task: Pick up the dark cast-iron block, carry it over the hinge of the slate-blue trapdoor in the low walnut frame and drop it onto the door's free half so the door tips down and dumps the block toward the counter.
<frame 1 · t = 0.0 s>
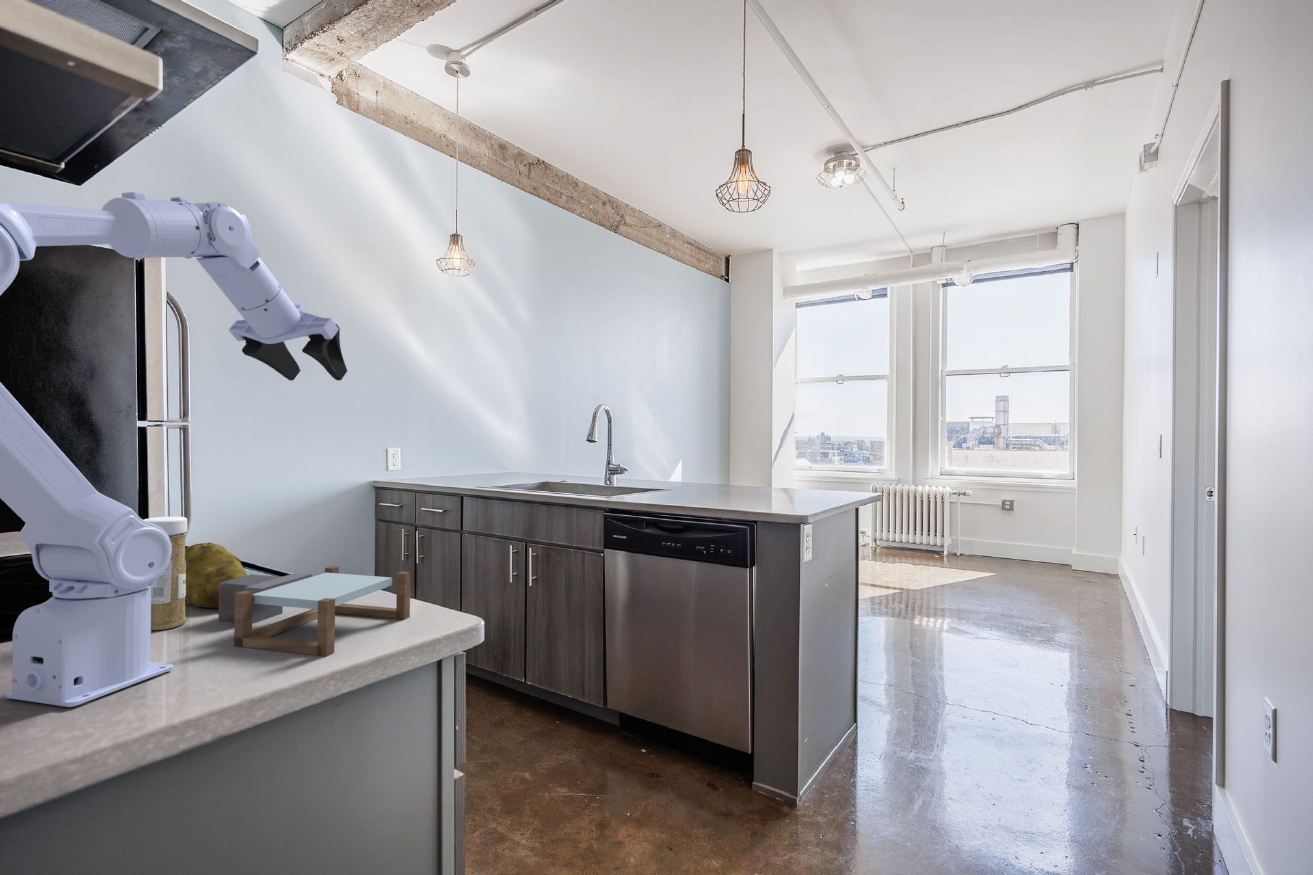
hand: (318, 375, 88), 32 cm above the counter, tool tilted 50°, fingers open, 7 cm apart
iron block: (251, 617, 83), on the counter
potato: (210, 604, 89), on the counter
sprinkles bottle: (163, 627, 78), on the counter
frame: (291, 626, 79), on the counter
trapdoor: (315, 588, 78), point 5 cm above the counter, hinge at 0.0°
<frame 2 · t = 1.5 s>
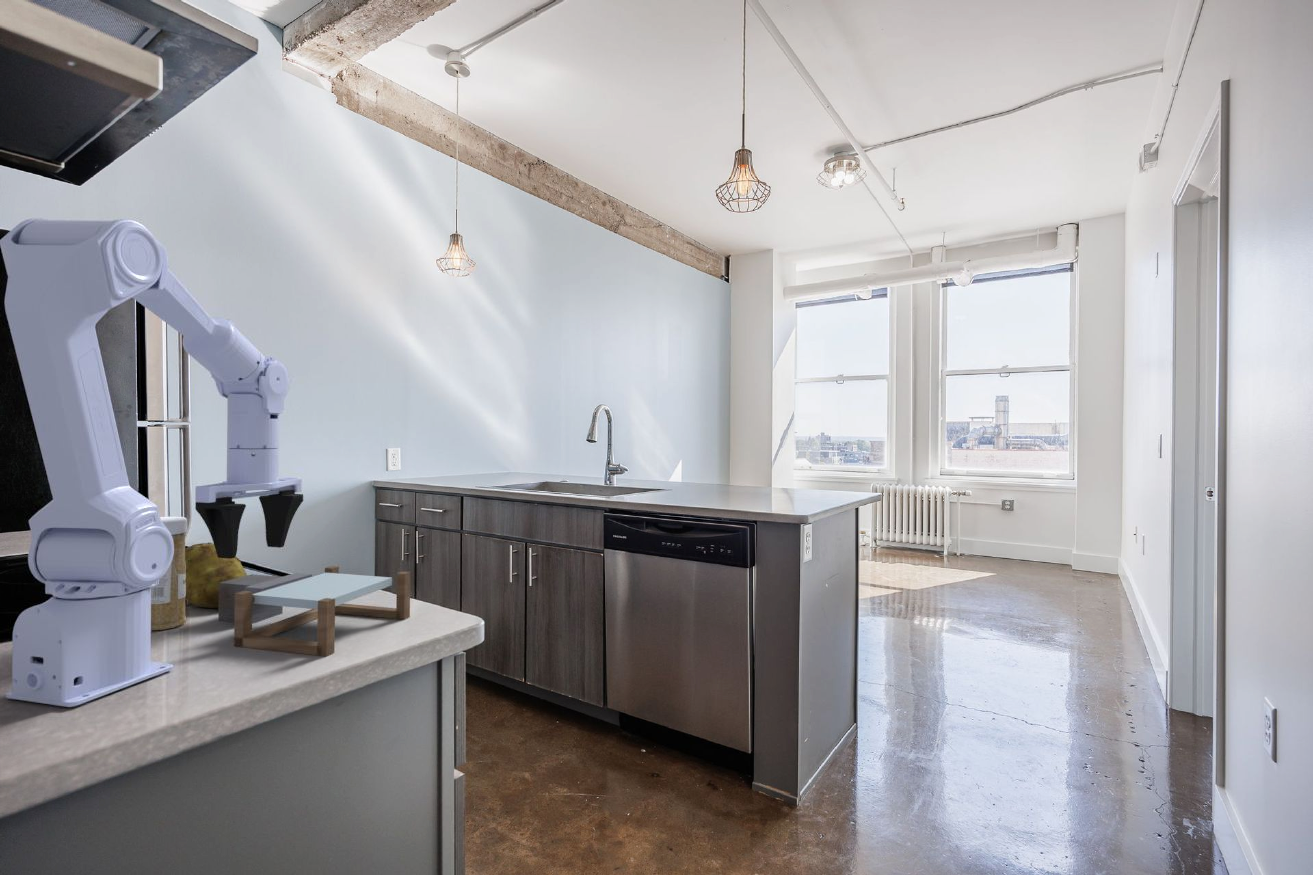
hand: (252, 552, 83), 9 cm above the counter, tool pointing down, fingers open, 7 cm apart
nothing on the counter moved.
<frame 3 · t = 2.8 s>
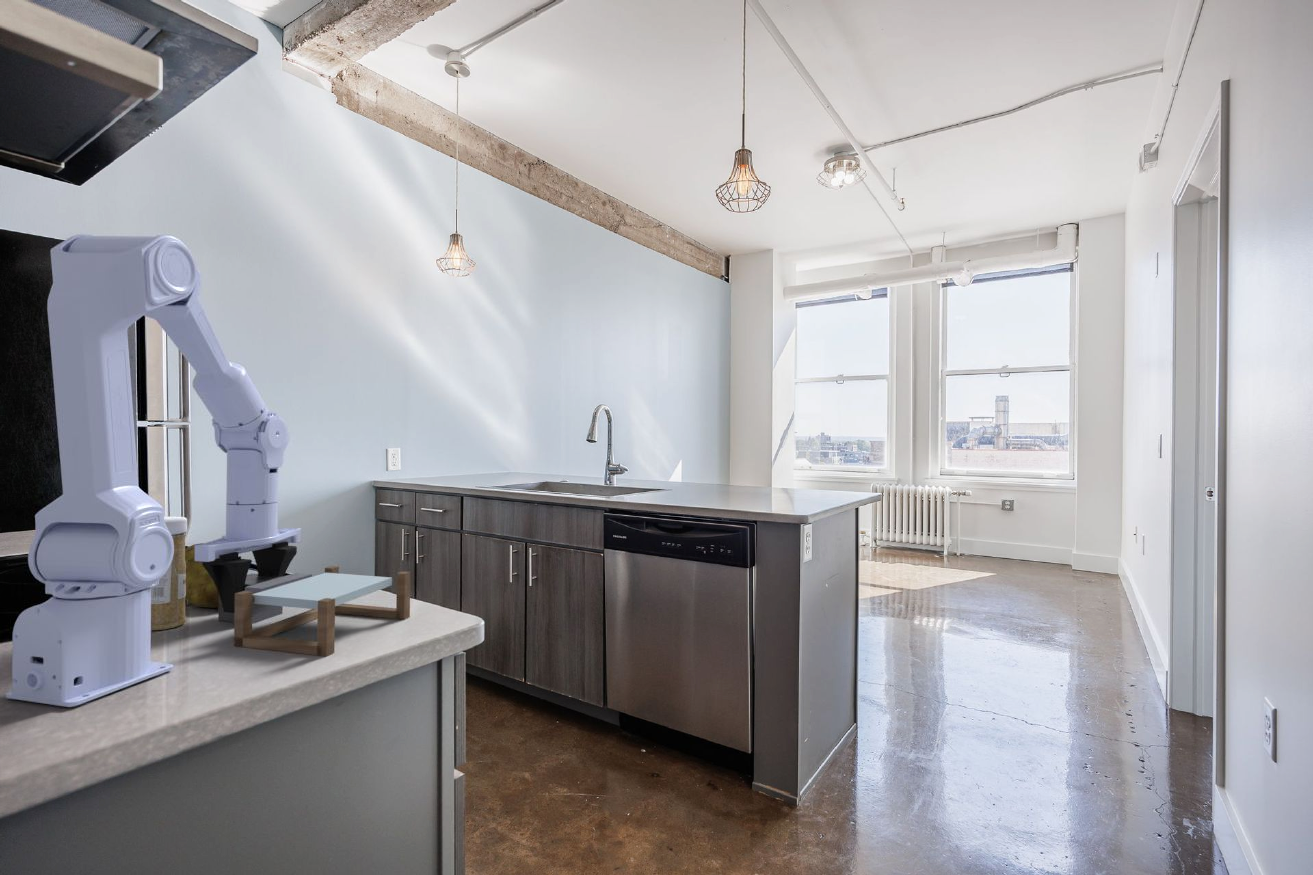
hand: (251, 606, 83), 1 cm above the counter, tool pointing down, fingers closed on iron block, 5 cm apart
iron block: (251, 616, 83), on the counter, touching gripper
everything else where it was.
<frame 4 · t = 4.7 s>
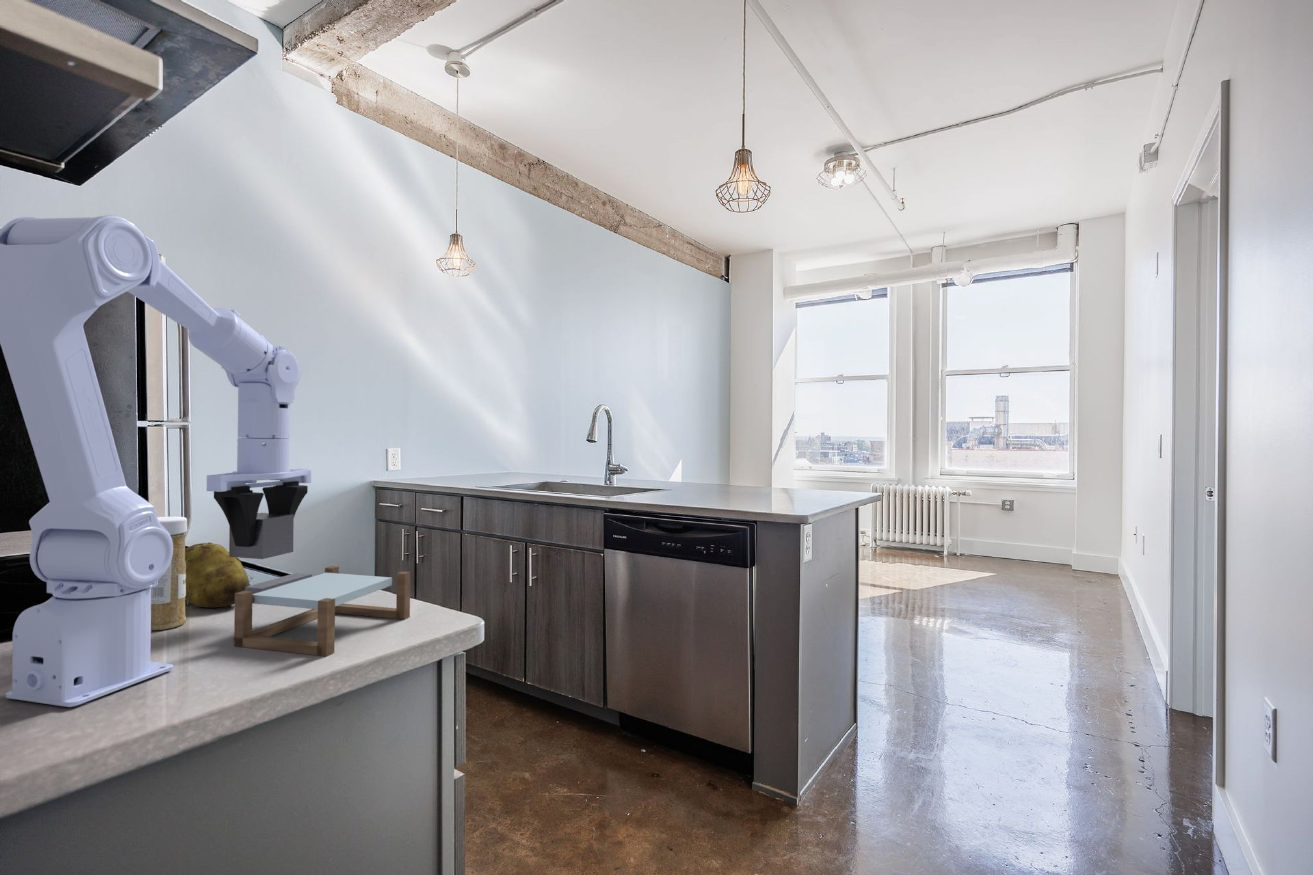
hand: (262, 542, 82), 10 cm above the counter, tool pointing down, fingers closed on iron block, 5 cm apart
iron block: (262, 554, 82), point 8 cm above the counter, touching gripper
everything else where it was.
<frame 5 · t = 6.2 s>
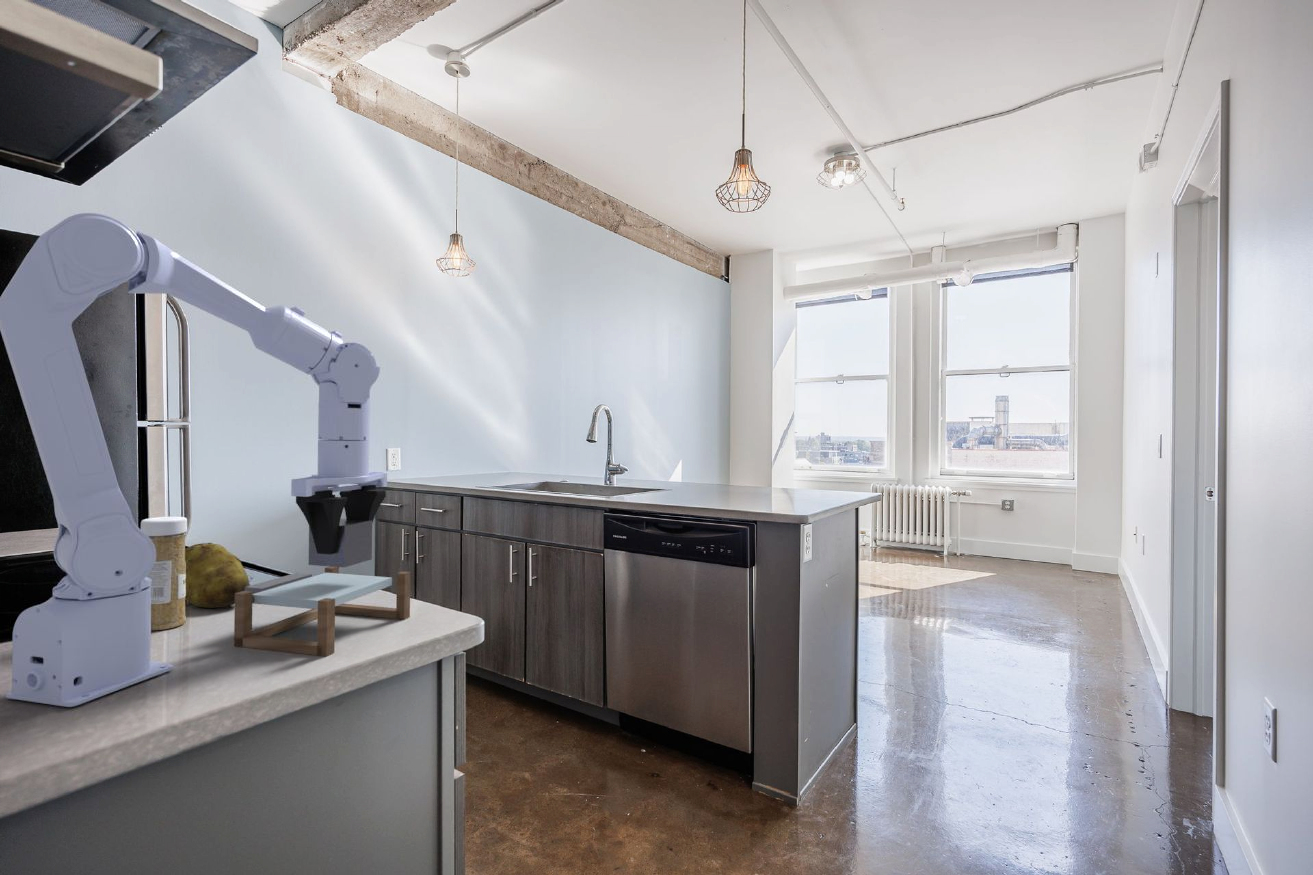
hand: (342, 549, 78), 10 cm above the counter, tool pointing down, fingers closed on iron block, 5 cm apart
iron block: (340, 562, 78), point 8 cm above the counter, touching gripper
everything else where it was.
when the fingers open (10 cm above the counter, at t = 6.6 s): iron block drops 5 cm, resting on trapdoor.
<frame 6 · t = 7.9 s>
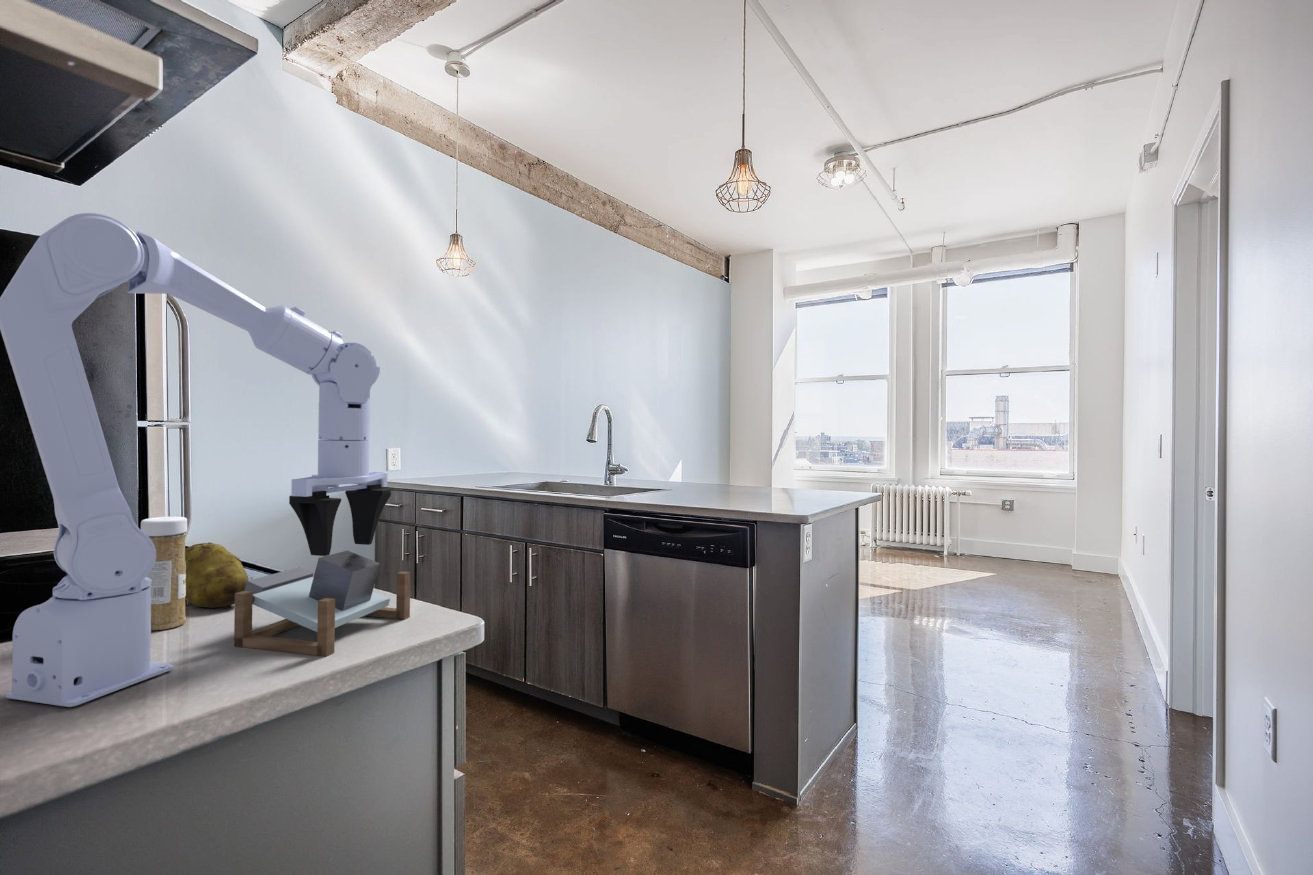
hand: (342, 549, 78), 10 cm above the counter, tool pointing down, fingers open, 7 cm apart
iron block: (340, 598, 79), point 4 cm above the counter, tilted 16°, touching trapdoor
trapdoor: (314, 596, 78), point 4 cm above the counter, hinge at -15.9°, touching iron block
everything else where it was.
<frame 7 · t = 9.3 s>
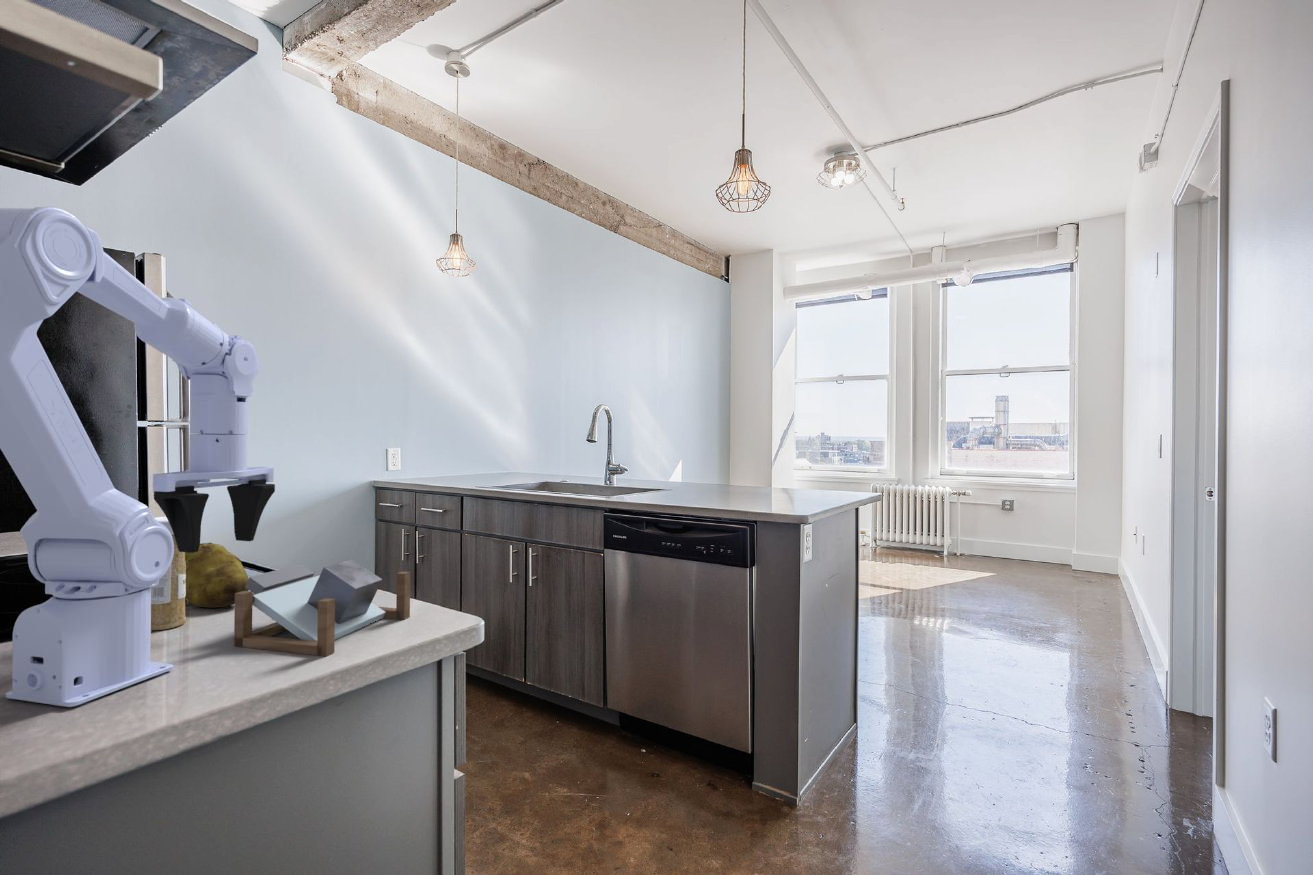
hand: (218, 545, 77), 10 cm above the counter, tool pointing down, fingers open, 7 cm apart
iron block: (337, 607, 79), point 3 cm above the counter, tilted 27°, touching trapdoor
trapdoor: (312, 601, 78), point 3 cm above the counter, hinge at -27.1°, touching iron block
everything else where it was.
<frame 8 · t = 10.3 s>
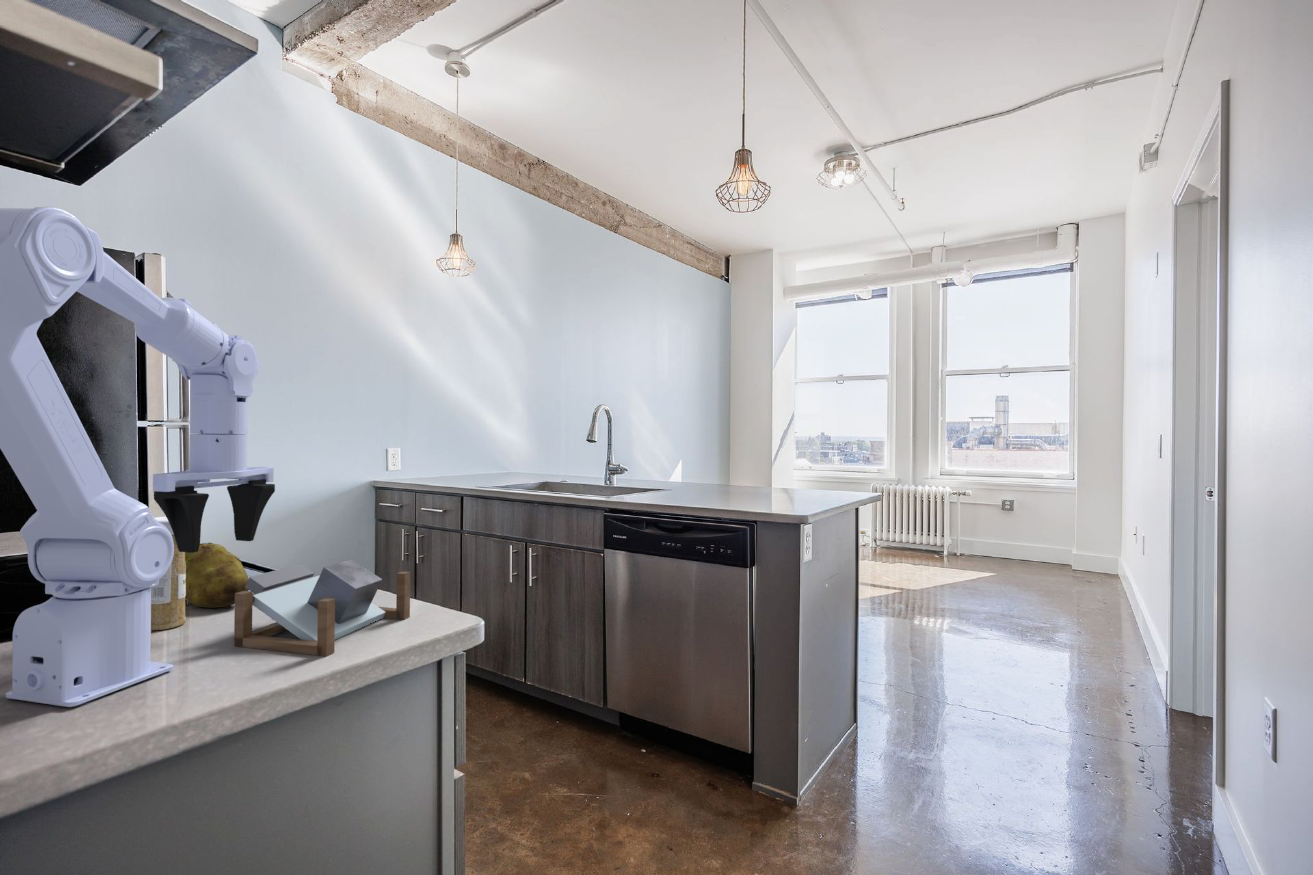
hand: (218, 545, 77), 10 cm above the counter, tool pointing down, fingers open, 7 cm apart
nothing on the counter moved.
at the end: iron block point 2.5 cm above the counter; iron block inside the target area on the frame (5.7 cm from its centre), point 2.5 cm above the frame's base; the gripper is holding nothing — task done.
